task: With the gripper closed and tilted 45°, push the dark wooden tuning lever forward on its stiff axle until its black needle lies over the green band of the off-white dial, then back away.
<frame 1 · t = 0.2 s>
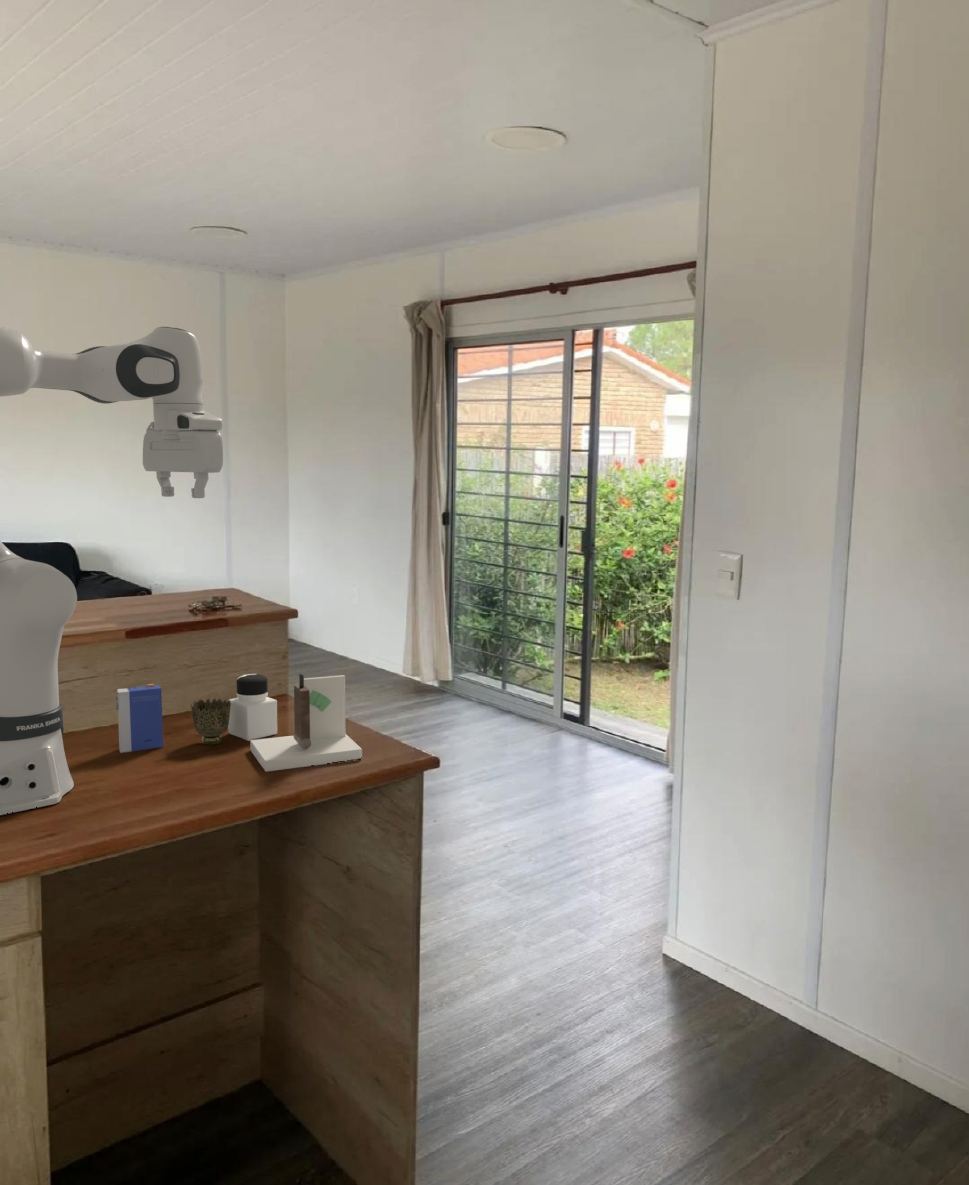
hand: (182, 497, 177), 48 cm above the worktop, tool pointing down, fingers open, 8 cm apart
walkman: (141, 749, 185), on the worktop
tuning lever: (301, 709, 179), point 9 cm above the worktop, hinge at 0.0°
medicine bottle: (253, 734, 195), on the worktop
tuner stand: (302, 757, 180), on the worktop
cup: (212, 743, 189), on the worktop
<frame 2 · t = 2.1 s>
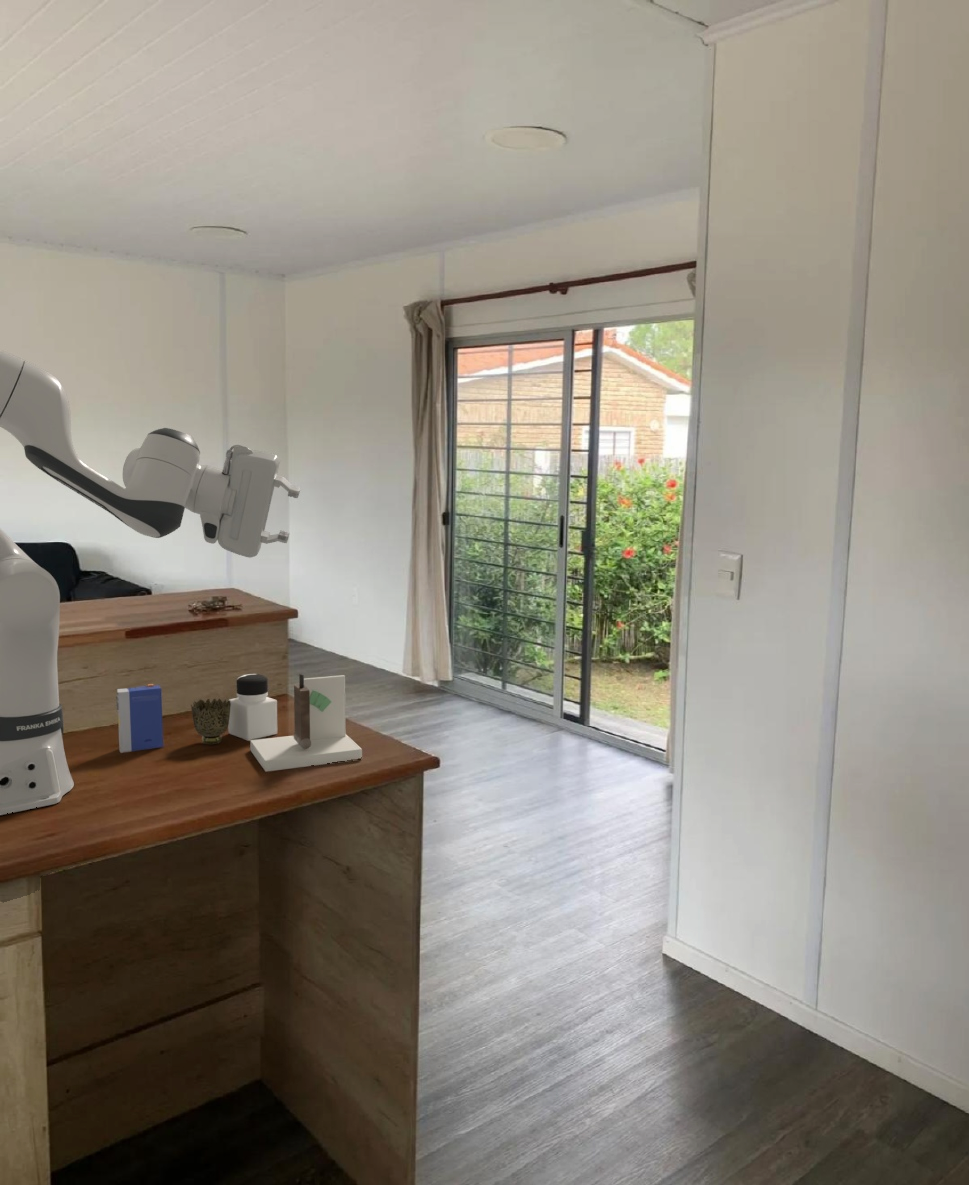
hand: (293, 516, 175), 45 cm above the worktop, tool tilted 75°, fingers open, 8 cm apart
nothing on the worktop moved.
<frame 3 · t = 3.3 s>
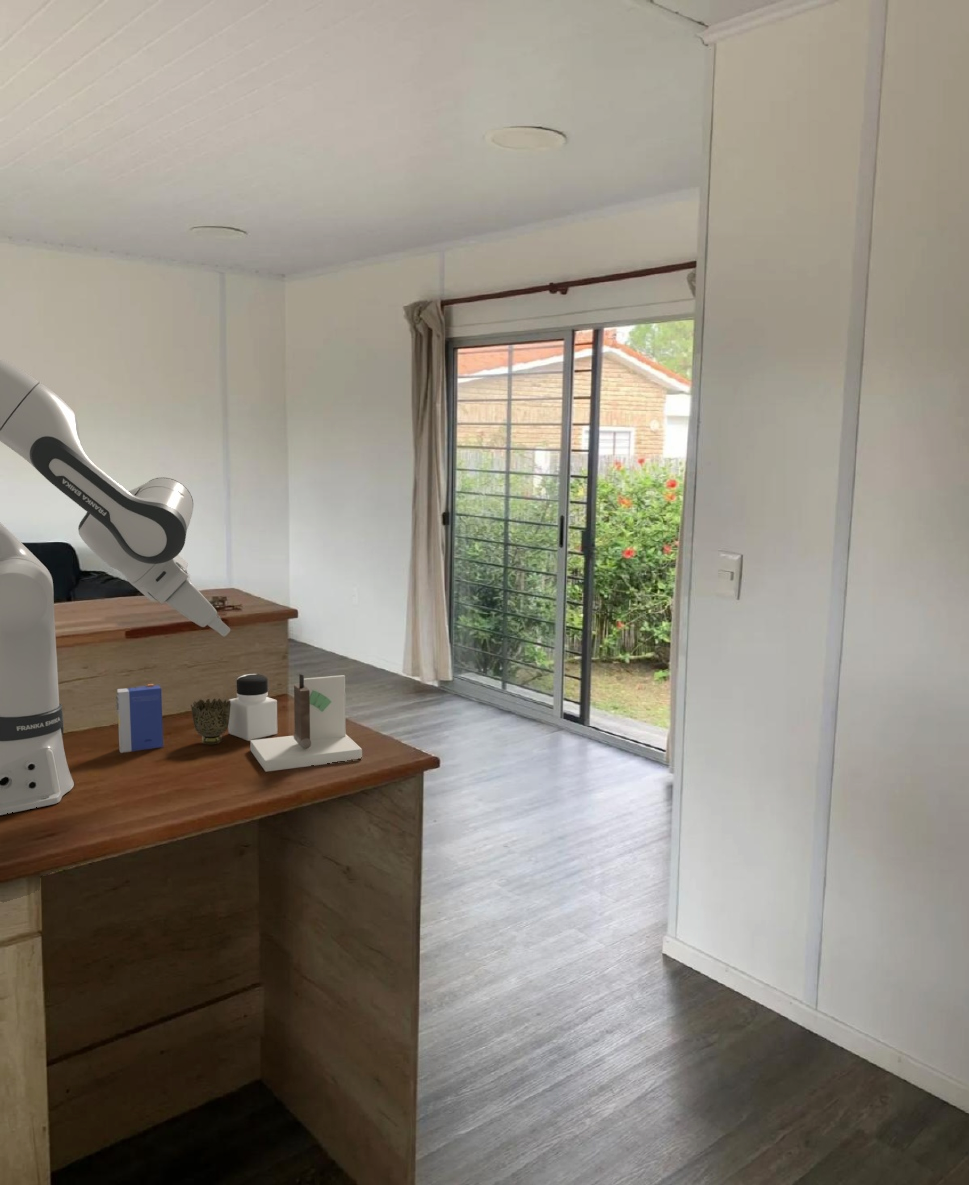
hand: (222, 627, 171), 26 cm above the worktop, tool tilted 45°, fingers open, 8 cm apart
nothing on the worktop moved.
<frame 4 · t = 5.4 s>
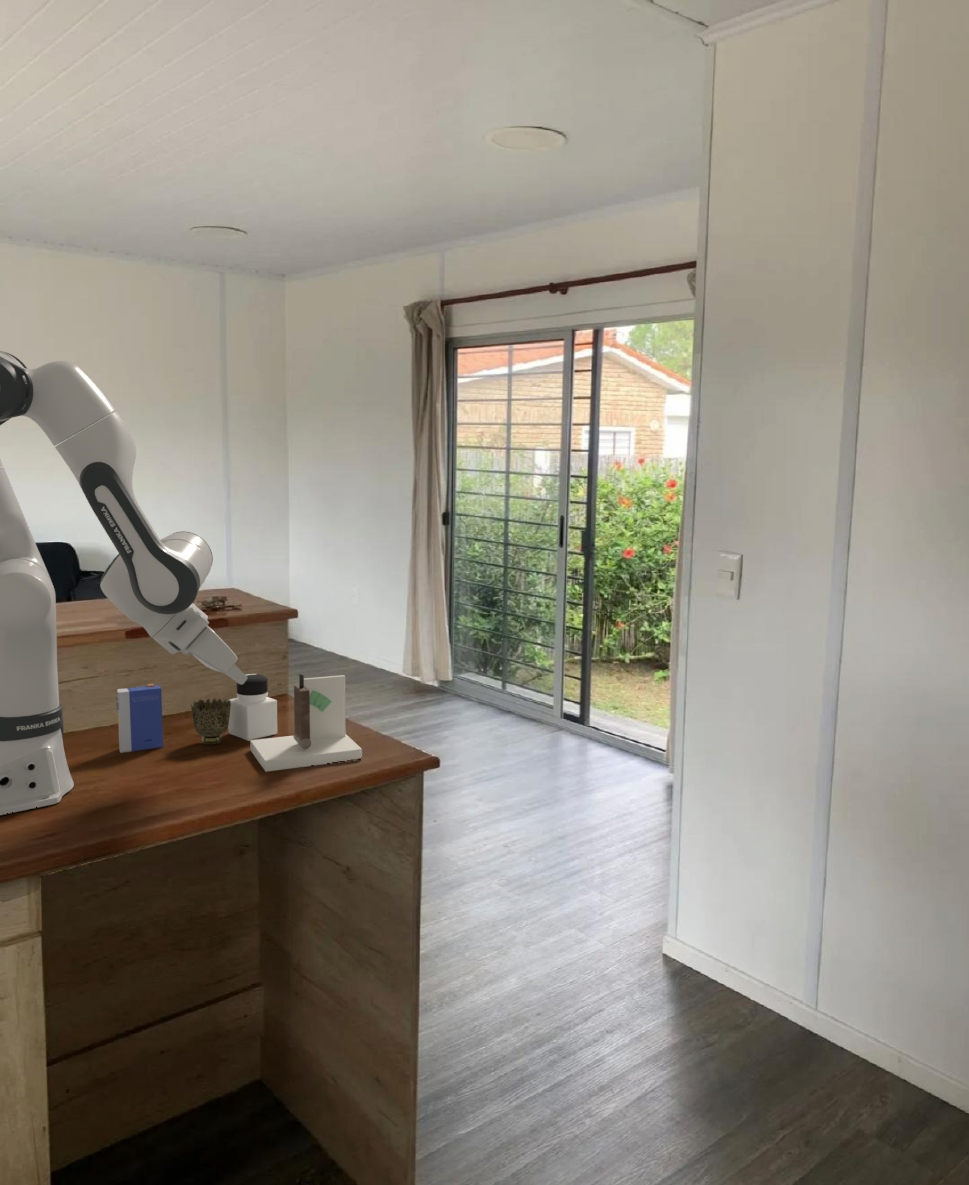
hand: (243, 681, 170), 17 cm above the worktop, tool tilted 45°, fingers closed
nothing on the worktop moved.
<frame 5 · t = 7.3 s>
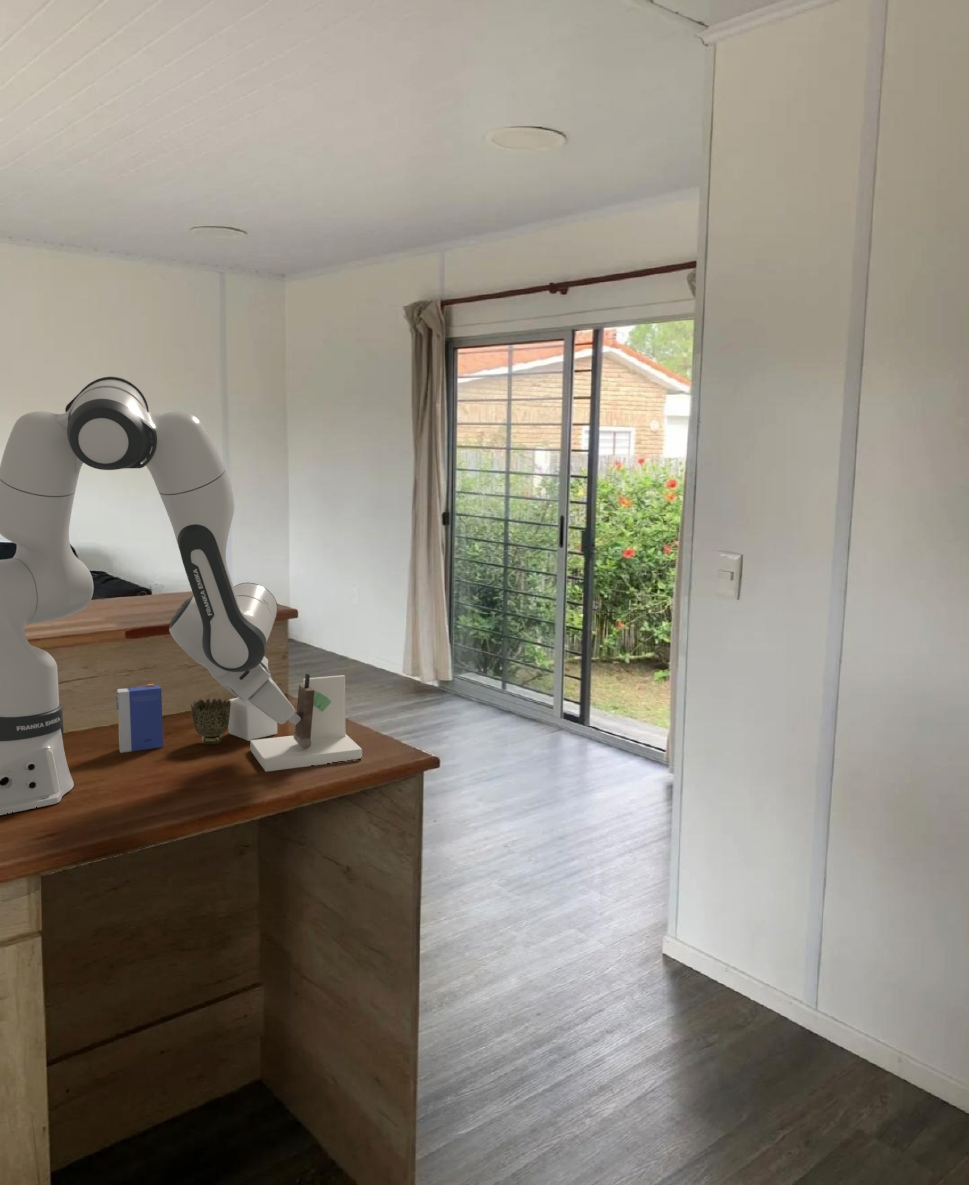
hand: (296, 720, 179), 7 cm above the worktop, tool tilted 45°, fingers closed, pressing on tuning lever
tuning lever: (304, 709, 179), point 9 cm above the worktop, hinge at 5.5°, touching gripper
everything else where it was.
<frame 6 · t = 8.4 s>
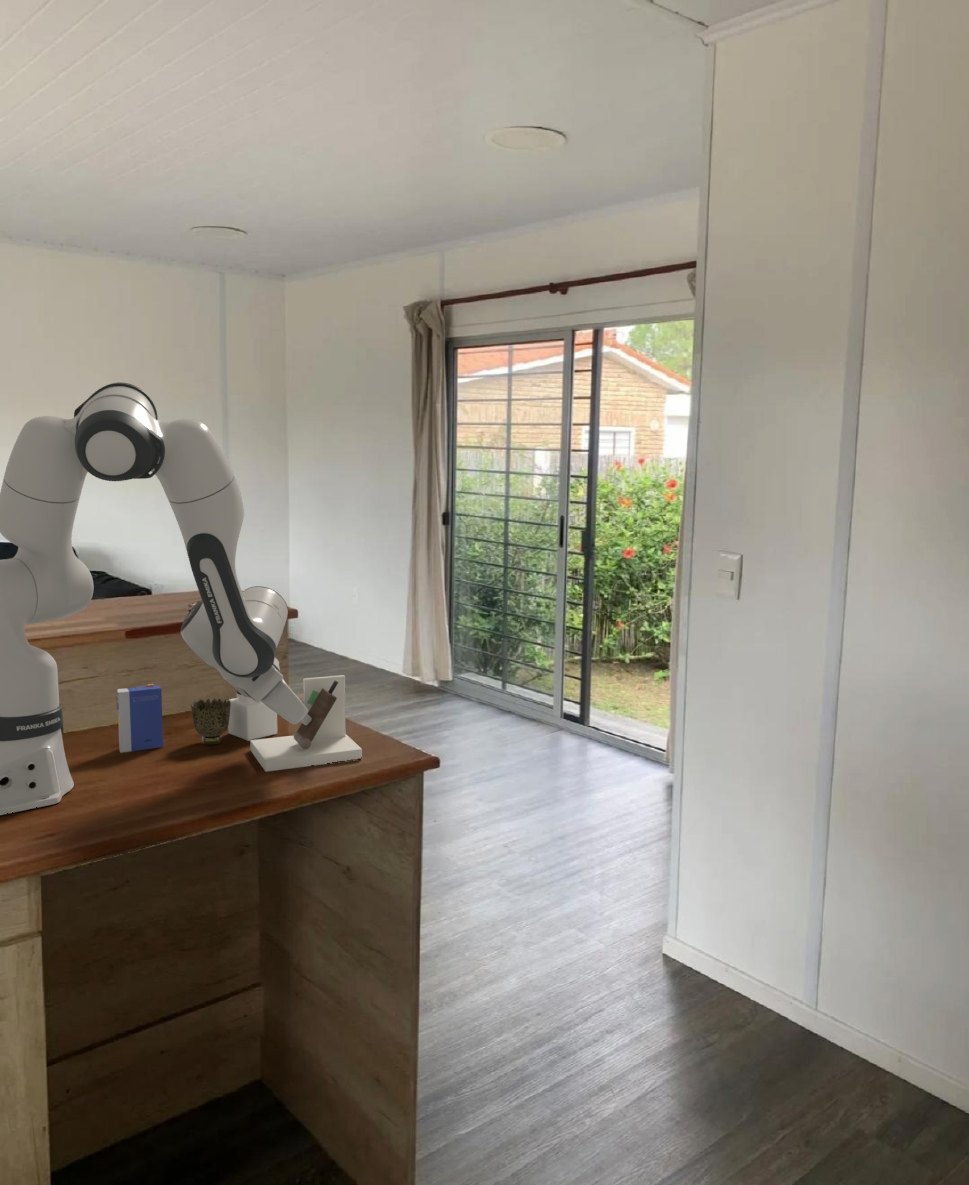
hand: (307, 720, 180), 7 cm above the worktop, tool tilted 45°, fingers closed, pressing on tuning lever
tuning lever: (318, 712, 180), point 8 cm above the worktop, hinge at 32.1°, touching gripper
everything else where it was.
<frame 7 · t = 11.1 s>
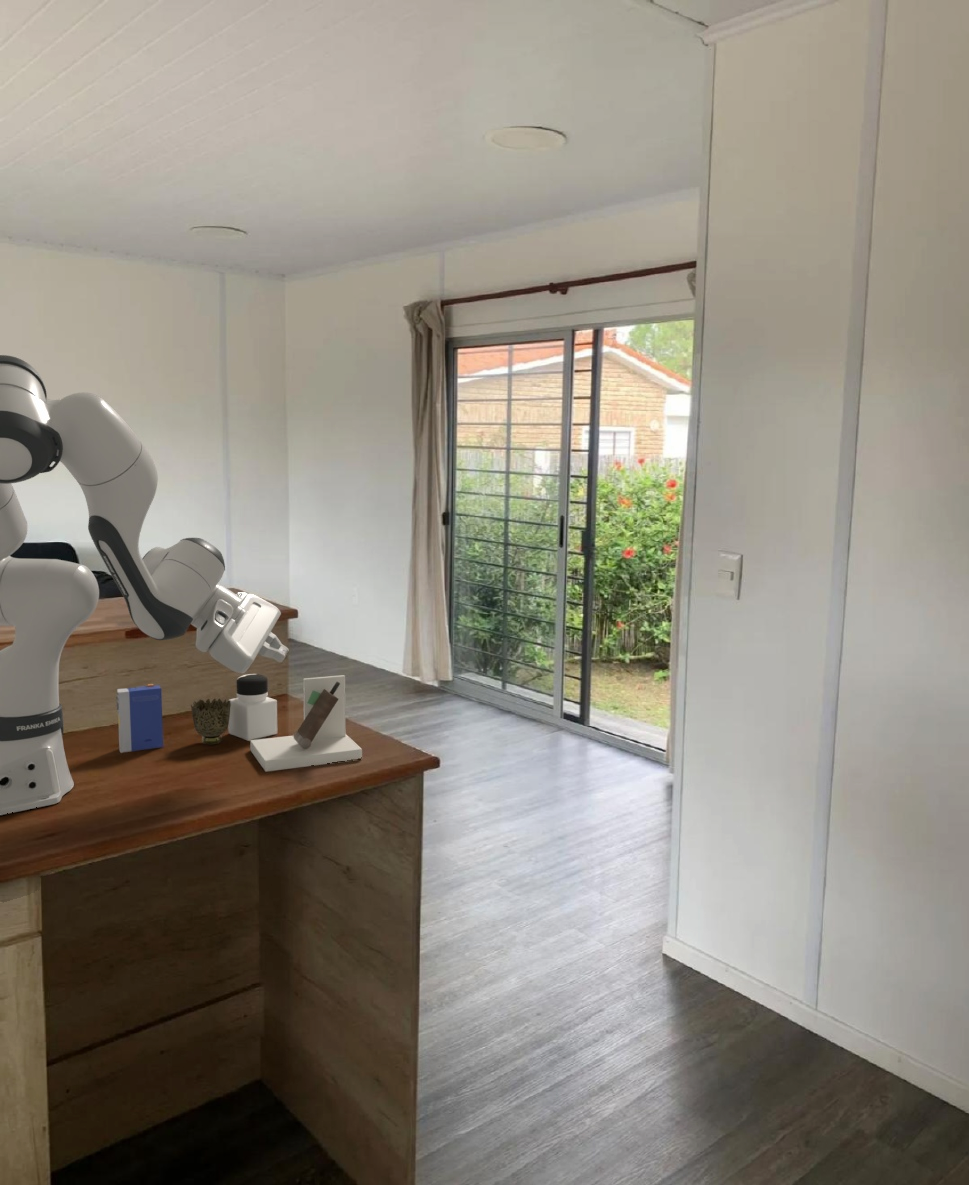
hand: (285, 656, 176), 20 cm above the worktop, tool tilted 55°, fingers closed
tuning lever: (319, 713, 181), point 8 cm above the worktop, hinge at 34.2°
everything else where it was.
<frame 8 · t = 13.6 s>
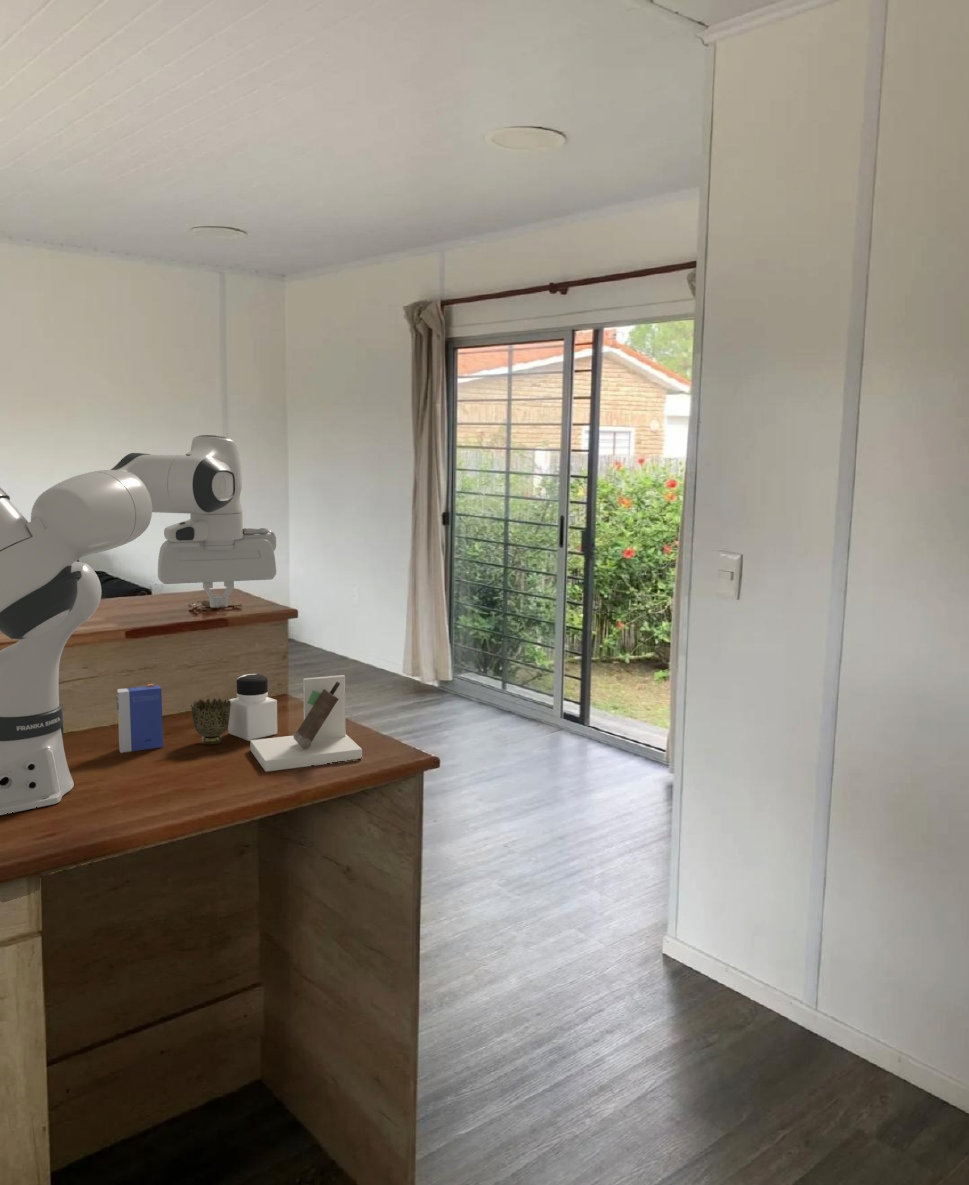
hand: (218, 606, 172), 29 cm above the worktop, tool pointing down, fingers closed
nothing on the worktop moved.
at the end: tuning lever at +34° (first picture: +0°); medicine bottle moved 0.2 cm from its start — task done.
